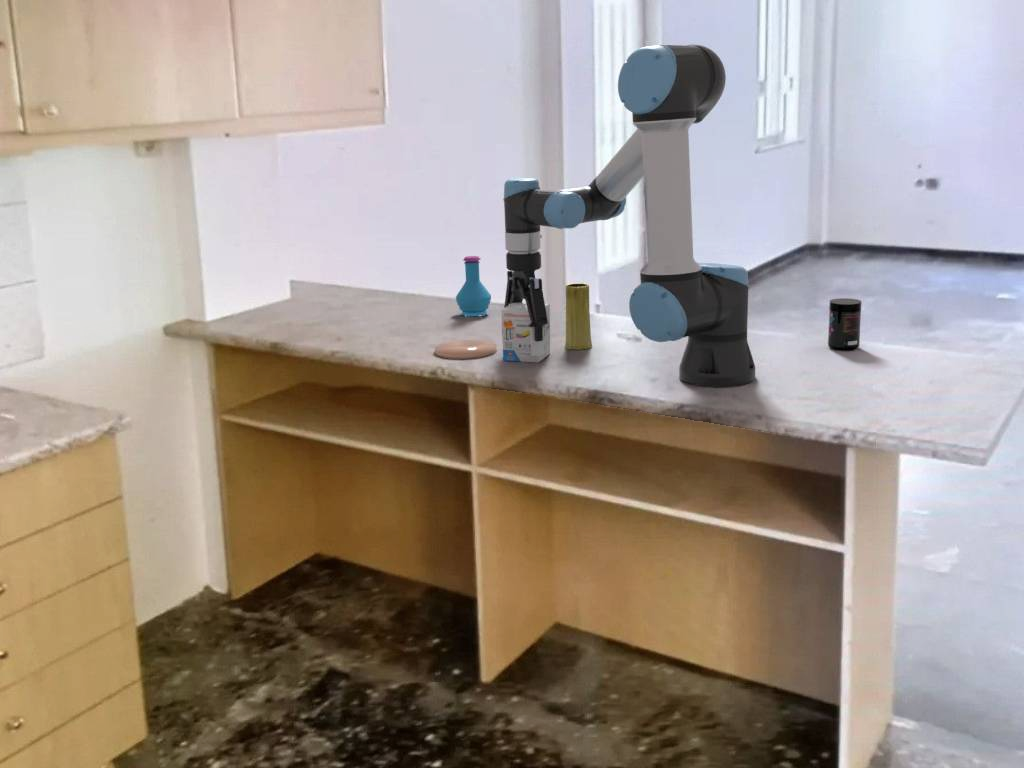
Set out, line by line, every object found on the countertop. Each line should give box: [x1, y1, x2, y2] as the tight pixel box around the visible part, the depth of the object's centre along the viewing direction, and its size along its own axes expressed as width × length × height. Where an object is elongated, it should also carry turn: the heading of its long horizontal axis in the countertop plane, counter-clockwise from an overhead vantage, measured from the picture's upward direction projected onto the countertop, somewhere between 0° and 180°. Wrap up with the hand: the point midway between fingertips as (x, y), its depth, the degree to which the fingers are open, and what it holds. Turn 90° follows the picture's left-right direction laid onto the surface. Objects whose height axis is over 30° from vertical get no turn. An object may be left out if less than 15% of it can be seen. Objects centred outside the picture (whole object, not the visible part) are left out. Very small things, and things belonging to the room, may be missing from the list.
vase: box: [564, 282, 593, 351], centre depth 262 cm, size 6×6×14 cm
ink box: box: [501, 301, 551, 363], centre depth 254 cm, size 9×8×12 cm
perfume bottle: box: [455, 255, 492, 317], centre depth 301 cm, size 9×9×15 cm
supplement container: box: [827, 298, 863, 352], centre depth 253 cm, size 7×7×10 cm
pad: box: [434, 339, 498, 360], centre depth 263 cm, size 14×14×1 cm
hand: (526, 349), depth 255 cm, fingers closed on ink box, 11 cm apart
